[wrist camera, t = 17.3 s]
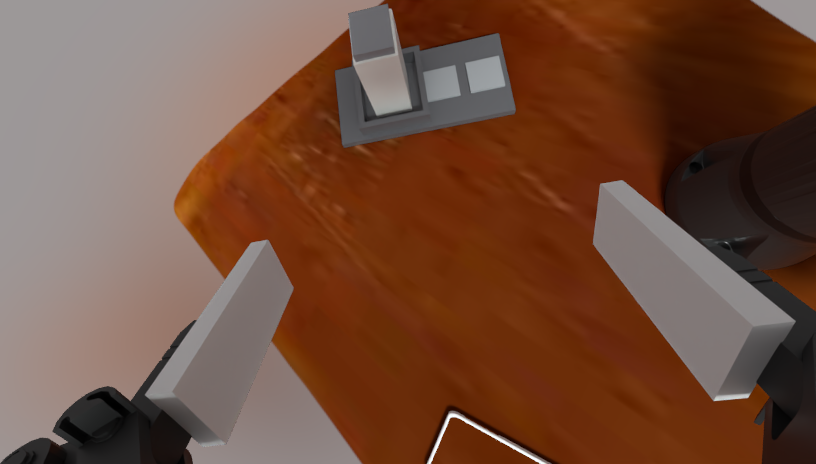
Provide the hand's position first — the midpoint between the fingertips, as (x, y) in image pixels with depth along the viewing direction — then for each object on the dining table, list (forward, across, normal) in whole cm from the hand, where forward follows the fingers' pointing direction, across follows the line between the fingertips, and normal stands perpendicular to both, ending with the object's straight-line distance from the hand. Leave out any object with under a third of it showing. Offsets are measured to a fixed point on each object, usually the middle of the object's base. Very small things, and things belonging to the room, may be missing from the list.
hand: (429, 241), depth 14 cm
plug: (+39, -4, -1) cm, 39 cm away
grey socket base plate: (+40, 0, -2) cm, 40 cm away
